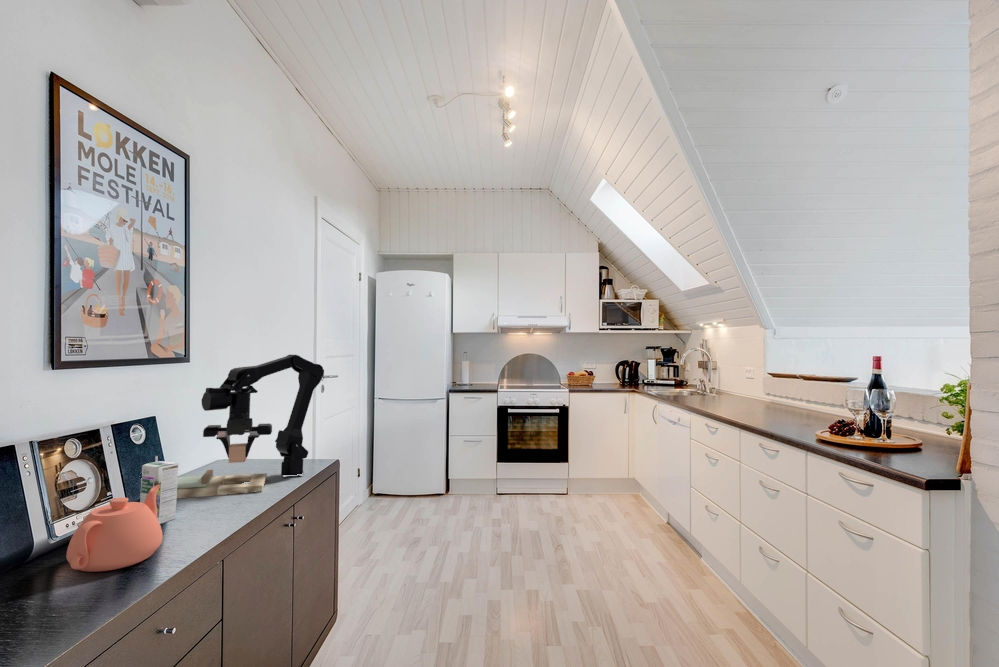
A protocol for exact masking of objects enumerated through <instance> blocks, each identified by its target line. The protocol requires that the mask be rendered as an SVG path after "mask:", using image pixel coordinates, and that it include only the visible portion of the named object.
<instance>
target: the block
mask: <svg viewBox="0 0 999 667" xmlns="http://www.w3.org/2000/svg"><path fill="white" fill-rule="evenodd" d="M246 448H247V442H246V443H245V442H243V443H230V446H229V458H228V464H233V463H234V464H235V463H245V462H246V461H247V458H248V456H247V457H246Z"/></svg>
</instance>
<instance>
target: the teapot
mask: <svg viewBox="0 0 999 667" xmlns="http://www.w3.org/2000/svg"><path fill="white" fill-rule="evenodd" d="M159 488H160V485H156V486H154V487H153V488H152V489H151V490H150V491H149V492H148V494H147V497H146V500H145V503H140V501H129V498H128V497H116V498H113V499H111V500H109V501H108V502H109V504H106V505H102V506H100V507H97V508H95V509H92V510H91V511H90V512H89V513H88V514H87V515H86V516H85V517H84V519H83V520H82V522H81V523H80V524H79V525H78V526H77V528H76V530H75V531H74V533H73V535H72V536H71V539H70V541H69V544H68V546H67V548H66V549H67V550H66V560H67V562H68V563H69V564H70V567H71V569H72V570H79V571H82V572H89V573H93V572H95V573H98V572H108V571H113V570H118V569H123V568H127V567H130V566H133V565H136V564H139V563H140V562H143V561H144V560H146V559H148V558H150V557H152V555H154V553H155V552H156V551H157V550H158V549H159V547H160V546H161V545H162V543H163V531H162V530H163V529H162V526H161V524H160V523H159V521H158V519H157V506H156V495H157V492H158V490H159Z"/></svg>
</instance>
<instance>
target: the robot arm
mask: <svg viewBox="0 0 999 667" xmlns="http://www.w3.org/2000/svg"><path fill="white" fill-rule="evenodd" d="M291 368H292V369H293V370H292V371H294V372H296V373H298V383H299V384H298V385H299V388H298V391H297V394H296V397H295V399H294V400H295V401H294V403H293V406H292V408H291V412H290V416H289V419H288V422H287V424H286V427H285V428H284V430H278V432H277V435H276V436H277V437H276V439H275V440H274V442H275V449H277V451H278V452H279V455H280V457H283V460H282V461H281V465H280V466H281V471H280V473H281V474H280V475H281V476H282V475H297V474H302V473H303V474H304V459H307V457H308V455H309V451H308V450H307V448H305V447H304V446H303V440H304V437H303V426H304V423H305V419H306V417H307V413H308V408H309V406H310V403H311V399H312V397H313V394H314V390H315V389H316V388H317V387H318V386H319V384H320V383H321V381H322V379H323V377H324V375H325V369H324V368H323V366H322V365H321V364H320V363H319V364H318V363H314V362H312V361H310V360H308V359H306V358H304V357H301V356H300V355H299V354H287V355H286V356H283V357H281V358H280V357H279V358H276V359H274V360H270V361H267V362H264V363H260V364H257V365H252V366H241V367H240V366H239V367H234V368H231V369H230V370H229V372H228V373H227V374H228V375H227V378H226V379H225V380H224V381H223V382H222V384H221V385H220V386H219V387H206V388H205V392H204V393H203V395H202V398H201V407H202V409H203V411H205V412H207V411H209V412H210V411H217V410H218V411H219V410H227V409H228V408H229V410H228V411H229V413H228V415H229V416H228V419H227V422H226V427H222V424H208V425H207V426H206V427H205V428H204V429H203V431H202V432H203V434H202V437H203V438H212V437H213V438H214V437H216V438H215V439H216V440H219V441H221V443H222V445H223V448H224V450H225V453H226V456H227V458H228V459H229V446H230V445H231V436H232V435H233V436H234V435H235V436H237V435H238V436H243V435H245V434H246V433H249V435H248V436H247V442H246V443H247V448H246V457H247V458H248V456H249V453H250V451H251V448H252V446H253V444H254V441H255V440H256V439H258V438H260V436H265V435H267V436H268V435H269V436H270V435H272V433H273V424H271V423H259V424H258V425H257V426H253V425H254V424H253V418H252V417H250V415H251V414H250V413H251V394H257V393H258V390H257V389H256V388H255V387H254V386H253V385H254V384H255V383H257V382H259V381H260V380H261V379H262V378H264V377H266V376H270V375H273V374H275V373H278V372H279V373H280V372H282V371H285V370H288V369H291Z"/></svg>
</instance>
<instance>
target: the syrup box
mask: <svg viewBox="0 0 999 667" xmlns="http://www.w3.org/2000/svg"><path fill="white" fill-rule="evenodd" d="M179 465H180V464H179V462H171V461H165V460H164V461H163V460H161V461H160V460H158V462H155V461H153V462H149V463H145V464H143V465H141V473H142V478H141V479H140V495H139V496H140V498H139V499H140V500H139V502H140V503H145V500H146V497H147V494H148V492H149V491H150V490H151V489H152V488H153V487H154V486H156V485H160V488H159V490H158V492H157V495H156V506H157V519H158V521H159V523H160V525H161V524H165V523H168V522H170V521H172V520H175V519H176V513H177V512H176V511H177V500H178V498H177V482H178V477H179Z"/></svg>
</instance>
